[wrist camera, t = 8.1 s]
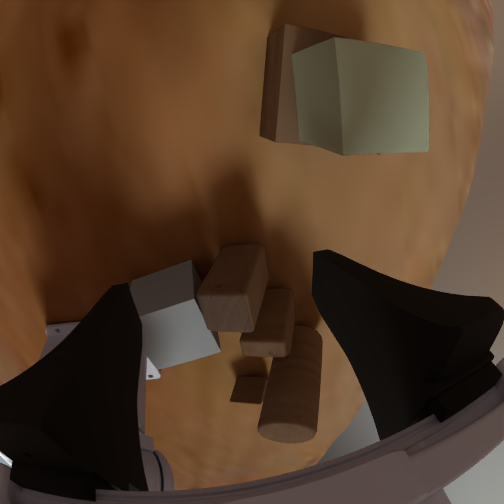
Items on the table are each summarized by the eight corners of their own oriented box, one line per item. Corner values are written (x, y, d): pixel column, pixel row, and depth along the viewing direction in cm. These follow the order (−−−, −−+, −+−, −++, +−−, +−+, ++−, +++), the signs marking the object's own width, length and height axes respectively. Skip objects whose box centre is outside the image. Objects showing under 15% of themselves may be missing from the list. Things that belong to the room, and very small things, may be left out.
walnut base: (258, 135, 19) (275, 142, 15) (266, 38, 16) (285, 23, 12) (349, 144, 20) (379, 154, 17) (358, 57, 17) (390, 52, 14)
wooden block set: (208, 235, 24) (147, 319, 15) (318, 229, 22) (315, 324, 13) (245, 379, 32) (222, 457, 23) (322, 382, 30) (315, 465, 21)
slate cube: (159, 326, 24) (157, 370, 20) (132, 279, 21) (122, 321, 17) (213, 308, 24) (221, 351, 20) (191, 258, 22) (194, 298, 17)
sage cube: (299, 140, 16) (343, 155, 11) (291, 54, 13) (334, 37, 9) (373, 136, 16) (428, 152, 12) (369, 59, 14) (425, 53, 10)
